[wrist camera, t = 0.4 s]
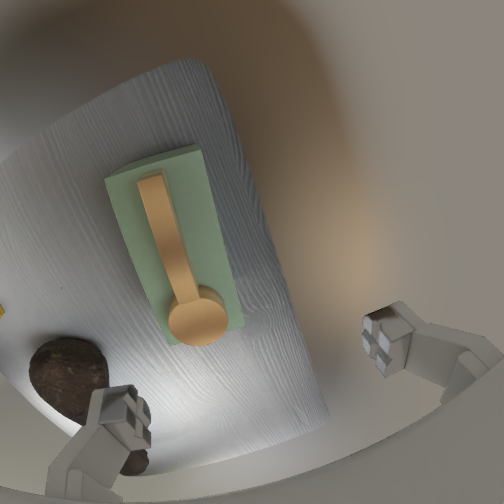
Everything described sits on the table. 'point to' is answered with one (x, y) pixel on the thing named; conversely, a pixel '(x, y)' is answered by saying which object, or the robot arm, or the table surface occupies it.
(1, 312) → the fry
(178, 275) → the spoon
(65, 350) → the dark brown bone
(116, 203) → the sage green box
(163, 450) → the table surface
